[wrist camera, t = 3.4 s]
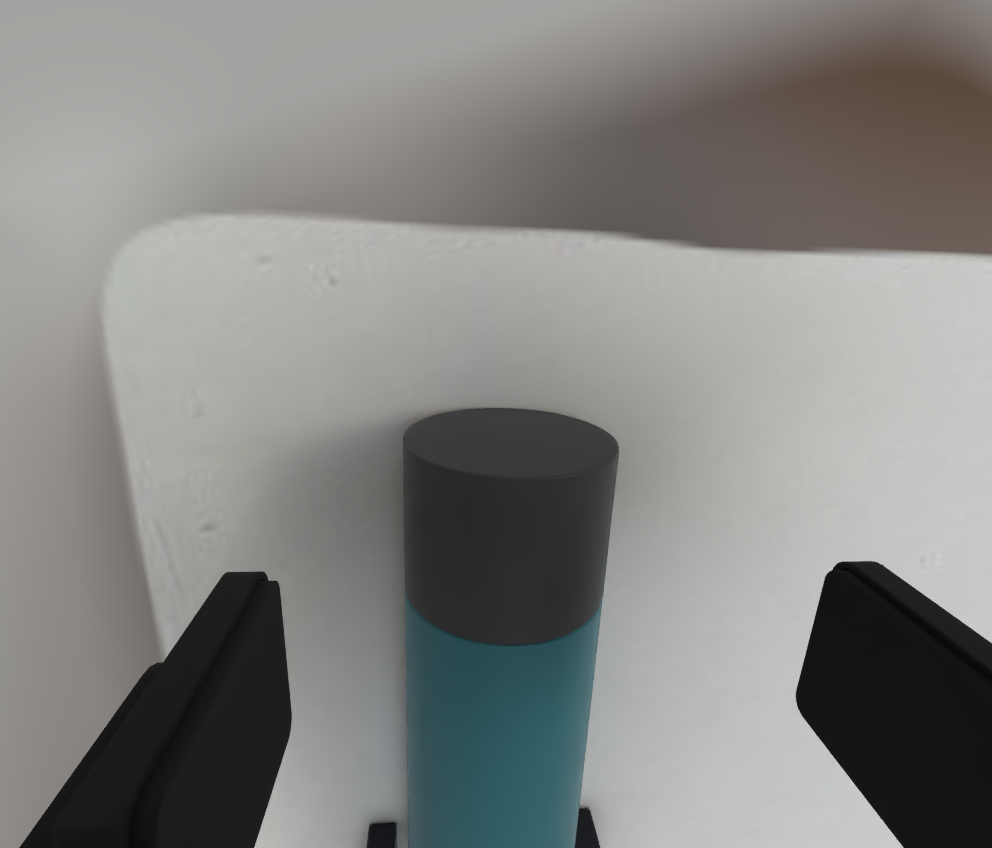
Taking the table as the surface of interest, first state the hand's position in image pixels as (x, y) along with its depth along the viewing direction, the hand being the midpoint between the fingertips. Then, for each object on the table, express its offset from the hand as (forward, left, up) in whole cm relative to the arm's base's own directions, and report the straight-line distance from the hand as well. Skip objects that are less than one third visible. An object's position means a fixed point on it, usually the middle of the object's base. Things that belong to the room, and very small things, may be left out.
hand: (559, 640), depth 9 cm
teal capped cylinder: (0, -7, -7) cm, 10 cm away
